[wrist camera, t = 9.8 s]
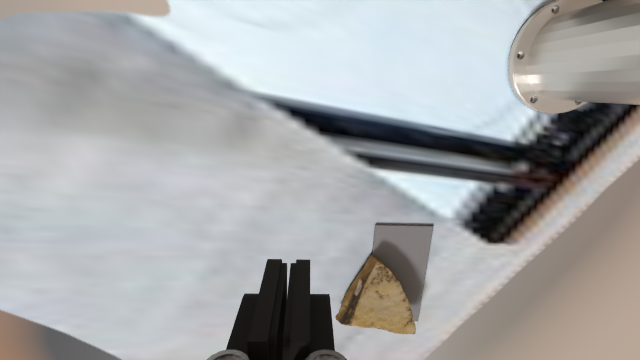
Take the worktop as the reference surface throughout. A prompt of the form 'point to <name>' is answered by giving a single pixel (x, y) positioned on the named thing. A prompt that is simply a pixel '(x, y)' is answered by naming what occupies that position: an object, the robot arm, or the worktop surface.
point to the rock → (377, 301)
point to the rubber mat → (405, 257)
